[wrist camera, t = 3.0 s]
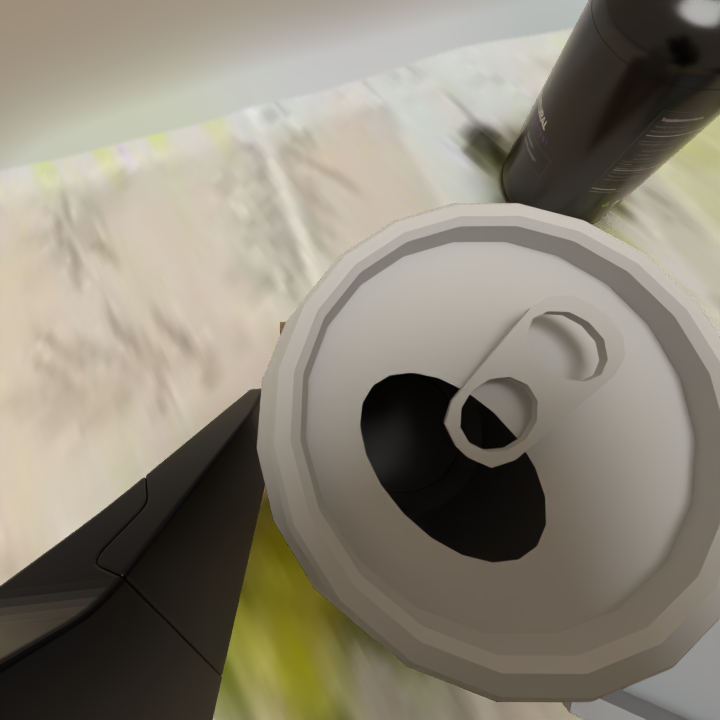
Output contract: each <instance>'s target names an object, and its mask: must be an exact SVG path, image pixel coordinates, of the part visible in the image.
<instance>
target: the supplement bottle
mask: <svg viewBox="0 0 720 720" xmlns="http://www.w3.org/2000/svg"><path fill="white" fill-rule="evenodd" d="M719 115H720V0H589V1H588V3H587V5H586V7H585V9H584V11H583V12H582V14H581V16H580V18H579V20H578V22H577V24H576V26H575V28H574V29H573V31H572V33H571V35H570V37H569V39H568V41H567V43H566V45H565V47H564V49H563V50H562V52H561V54H560V56H559V58H558V60H557V62H556V64H555V66H554V68H553V69H552V71H551V73H550V75H549V77H548V79H547V81H546V83H545V85H544V87H543V89H542V90H541V92H540V94H539V96H538V98H537V100H536V102H535V104H534V106H533V108H532V109H531V111H530V113H529V115H528V117H527V119H526V121H525V123H524V125H523V127H522V129H521V130H520V132H519V134H518V136H517V138H516V140H515V142H514V144H513V146H512V148H511V150H510V152H509V154H508V156H507V159H506V161H505V164H504V169H503V184H504V188H505V192H506V194H507V196H508V198H509V200H510V202H511V203H519V204H523V205H526V206H530V207H534V208H538V209H542V210H546V211H550V212H554V213H557V214H561V215H565V216H569V217H573V218H577V219H581V220H584V221H586V222H588V223H589V224H592V223H594V222H596V221H598V220H600V219H601V218H602V217H604V216H605V215H606V214H608V213H609V212H610V211H611V210H612V209H613V208H615V207H616V206H617V205H618V204H619V203H621V202H622V201H623V200H624V199H625V198H626V197H627V196H628V195H630V194H631V193H632V192H633V191H634V190H635V189H636V188H637V187H639V186H640V185H641V184H642V183H643V182H644V181H645V180H647V179H648V178H649V177H650V176H651V175H652V174H653V173H654V172H656V171H657V170H658V169H659V168H660V167H661V166H662V165H663V164H665V163H666V162H667V161H668V160H669V159H670V158H671V157H673V156H674V155H675V154H676V153H677V152H678V151H679V150H680V149H682V148H683V147H684V146H685V145H686V144H687V143H688V142H689V141H691V140H692V139H693V138H694V137H695V136H696V135H697V134H699V133H700V132H701V131H702V130H703V129H704V128H705V127H706V126H708V125H709V124H710V123H711V122H712V121H713V120H714V119H715V118H717V117H718V116H719Z"/></svg>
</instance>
